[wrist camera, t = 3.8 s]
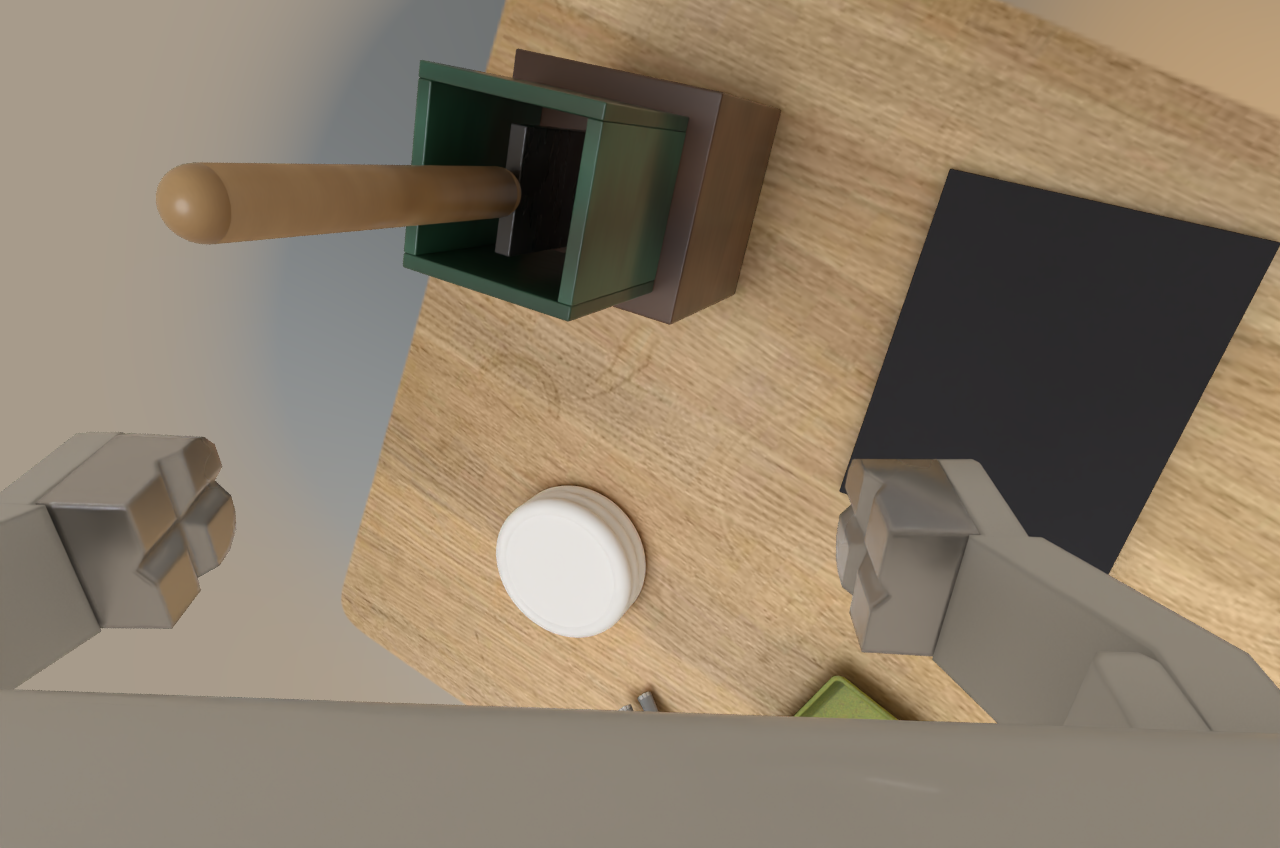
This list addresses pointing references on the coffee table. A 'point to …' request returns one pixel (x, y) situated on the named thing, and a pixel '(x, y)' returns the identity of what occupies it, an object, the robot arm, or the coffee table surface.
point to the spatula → (383, 195)
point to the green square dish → (843, 703)
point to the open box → (600, 186)
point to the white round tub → (571, 561)
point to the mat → (1058, 351)
